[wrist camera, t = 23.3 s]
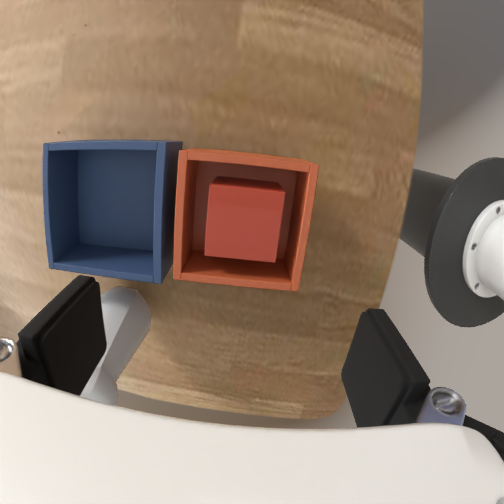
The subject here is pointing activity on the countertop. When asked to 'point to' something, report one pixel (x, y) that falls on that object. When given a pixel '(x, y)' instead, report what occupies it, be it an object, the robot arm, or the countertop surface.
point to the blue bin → (111, 207)
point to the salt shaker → (118, 340)
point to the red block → (244, 219)
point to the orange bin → (195, 218)
